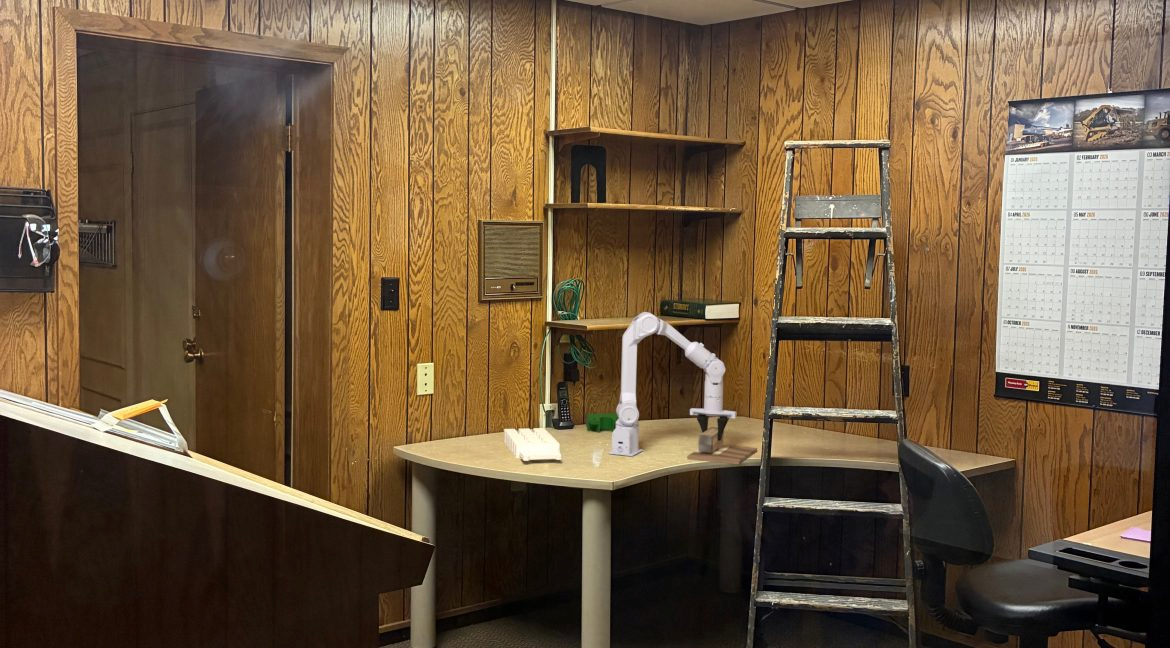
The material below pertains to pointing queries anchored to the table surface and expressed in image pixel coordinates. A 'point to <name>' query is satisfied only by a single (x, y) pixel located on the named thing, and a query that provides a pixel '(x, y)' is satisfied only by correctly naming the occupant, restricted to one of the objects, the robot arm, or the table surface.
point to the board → (724, 454)
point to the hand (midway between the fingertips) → (712, 439)
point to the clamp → (601, 422)
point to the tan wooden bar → (710, 440)
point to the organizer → (532, 444)
